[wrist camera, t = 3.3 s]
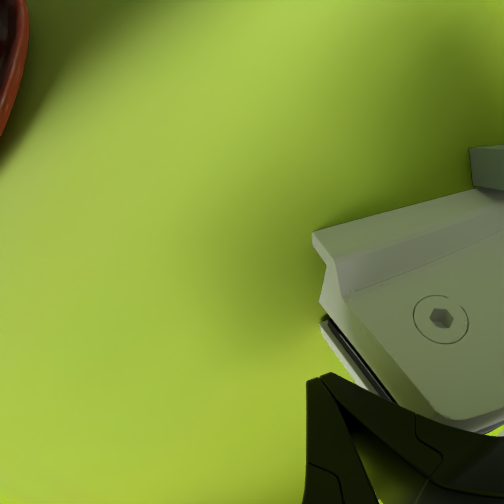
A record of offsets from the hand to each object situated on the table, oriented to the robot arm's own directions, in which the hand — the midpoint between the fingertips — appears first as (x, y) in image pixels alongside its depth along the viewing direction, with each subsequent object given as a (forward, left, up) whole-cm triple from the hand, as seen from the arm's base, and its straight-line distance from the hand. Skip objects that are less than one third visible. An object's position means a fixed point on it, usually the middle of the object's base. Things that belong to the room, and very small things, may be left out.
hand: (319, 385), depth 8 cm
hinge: (0, -10, -4) cm, 11 cm away
